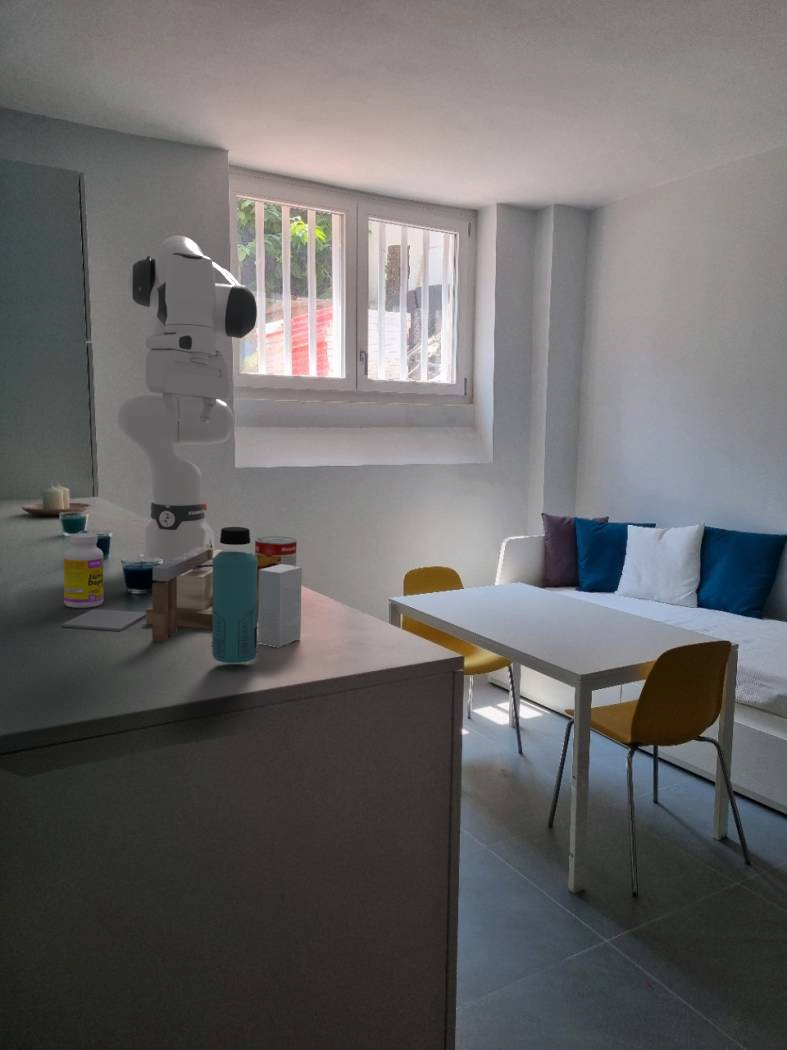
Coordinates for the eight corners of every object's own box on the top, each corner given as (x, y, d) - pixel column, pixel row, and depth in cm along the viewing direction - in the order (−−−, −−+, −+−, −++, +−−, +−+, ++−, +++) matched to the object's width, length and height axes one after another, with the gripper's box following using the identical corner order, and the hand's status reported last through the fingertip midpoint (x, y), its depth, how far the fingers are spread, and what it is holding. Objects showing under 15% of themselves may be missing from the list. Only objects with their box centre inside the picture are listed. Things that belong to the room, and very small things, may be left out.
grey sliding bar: (197, 558, 133) (197, 547, 133) (213, 559, 133) (213, 548, 133) (150, 580, 115) (150, 567, 114) (169, 581, 114) (169, 568, 114)
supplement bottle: (89, 610, 131) (88, 539, 129) (56, 607, 132) (54, 536, 131) (111, 601, 138) (110, 533, 136) (79, 598, 139) (78, 531, 137)
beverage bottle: (261, 672, 103) (264, 530, 101) (212, 675, 101) (214, 531, 98) (253, 657, 109) (256, 523, 107) (207, 660, 107) (209, 524, 104)
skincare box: (279, 635, 121) (281, 563, 120) (301, 639, 119) (303, 566, 118) (256, 644, 116) (257, 569, 114) (278, 648, 114) (280, 572, 112)
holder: (175, 606, 136) (175, 557, 135) (238, 611, 135) (239, 561, 134) (120, 639, 115) (120, 581, 114) (194, 644, 114) (194, 586, 113)
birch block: (186, 613, 132) (186, 569, 131) (212, 615, 132) (213, 571, 131) (174, 620, 127) (174, 574, 126) (202, 622, 127) (202, 576, 126)
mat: (93, 611, 131) (93, 609, 130) (147, 615, 129) (147, 613, 129) (62, 626, 121) (62, 624, 121) (120, 631, 120) (120, 628, 120)
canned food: (266, 593, 149) (268, 535, 148) (301, 598, 147) (303, 538, 145) (246, 602, 142) (247, 540, 140) (283, 607, 139) (284, 544, 138)
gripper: (209, 351, 145) (209, 423, 146) (138, 337, 126) (139, 419, 127) (237, 351, 143) (236, 423, 144) (169, 336, 124) (169, 419, 125)
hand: (190, 421), depth 136 cm, fingers open, 8 cm apart
